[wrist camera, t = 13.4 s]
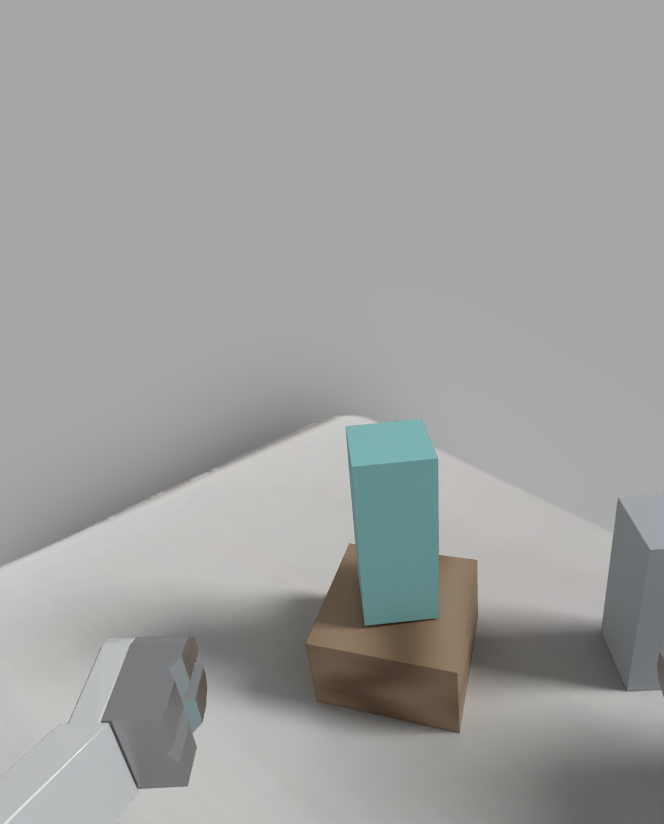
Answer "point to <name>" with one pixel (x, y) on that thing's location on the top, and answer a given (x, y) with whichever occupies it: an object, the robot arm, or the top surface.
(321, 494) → the top surface
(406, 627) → the base block
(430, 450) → the teal block
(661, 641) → the grey block
